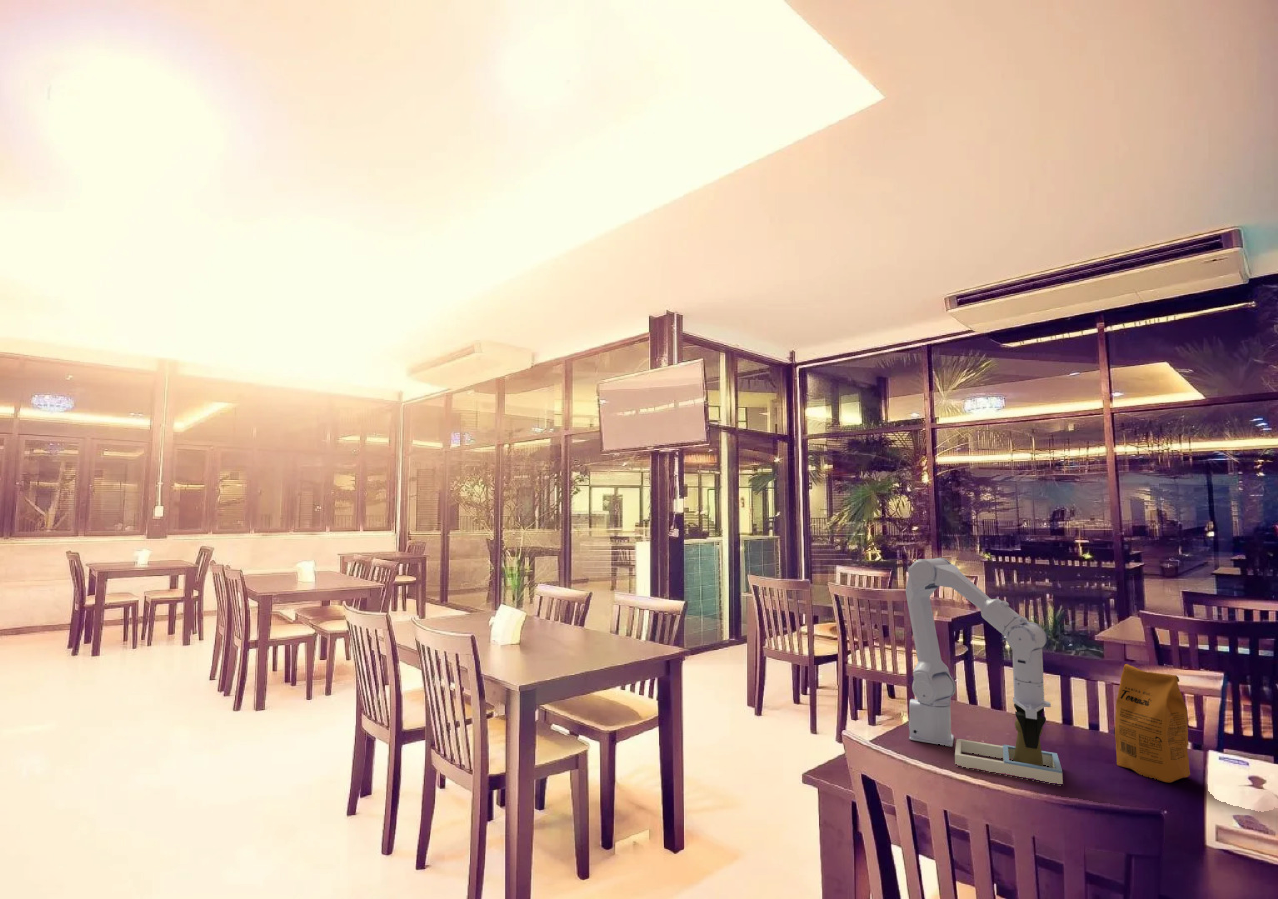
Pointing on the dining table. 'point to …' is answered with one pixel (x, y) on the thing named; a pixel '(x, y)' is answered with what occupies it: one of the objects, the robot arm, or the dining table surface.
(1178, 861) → the dining table surface
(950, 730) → the robot arm
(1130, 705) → the coffee package
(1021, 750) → the olive tall tapered piece
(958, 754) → the tray
